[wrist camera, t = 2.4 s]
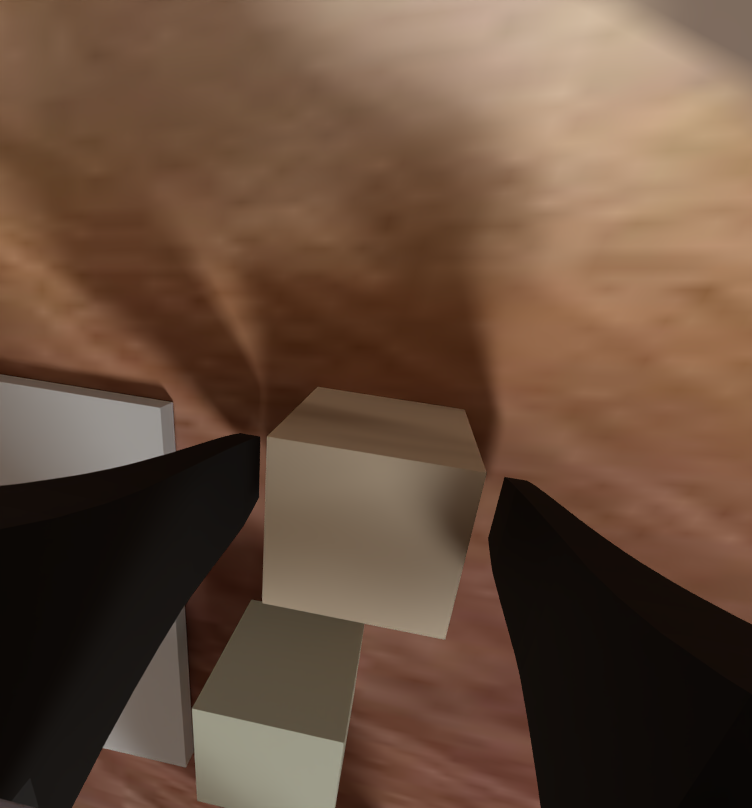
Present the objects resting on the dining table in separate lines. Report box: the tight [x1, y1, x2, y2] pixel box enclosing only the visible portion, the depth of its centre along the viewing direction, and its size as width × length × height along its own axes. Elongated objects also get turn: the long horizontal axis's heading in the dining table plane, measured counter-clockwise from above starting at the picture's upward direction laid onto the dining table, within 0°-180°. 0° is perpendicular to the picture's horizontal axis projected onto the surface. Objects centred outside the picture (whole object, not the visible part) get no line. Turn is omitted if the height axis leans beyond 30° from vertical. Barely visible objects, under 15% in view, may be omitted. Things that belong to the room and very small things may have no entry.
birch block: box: [262, 387, 487, 640], centre depth 10 cm, size 4×4×4 cm
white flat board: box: [0, 374, 194, 767], centre depth 15 cm, size 18×12×1 cm, turn 173°
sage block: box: [192, 600, 364, 808], centre depth 13 cm, size 4×4×4 cm
